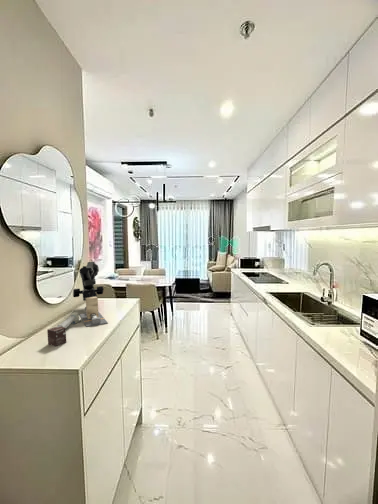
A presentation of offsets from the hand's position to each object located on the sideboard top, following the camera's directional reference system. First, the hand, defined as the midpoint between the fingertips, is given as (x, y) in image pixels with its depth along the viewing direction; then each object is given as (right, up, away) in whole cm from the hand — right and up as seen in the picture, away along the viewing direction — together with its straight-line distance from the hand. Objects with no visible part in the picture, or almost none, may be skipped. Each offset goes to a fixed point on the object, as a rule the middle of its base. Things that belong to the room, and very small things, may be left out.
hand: (90, 302), depth 189 cm
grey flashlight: (-5, -11, -22) cm, 25 cm away
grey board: (+4, -9, -6) cm, 12 cm away
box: (0, -12, -47) cm, 49 cm away
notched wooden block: (+3, -9, -5) cm, 11 cm away
